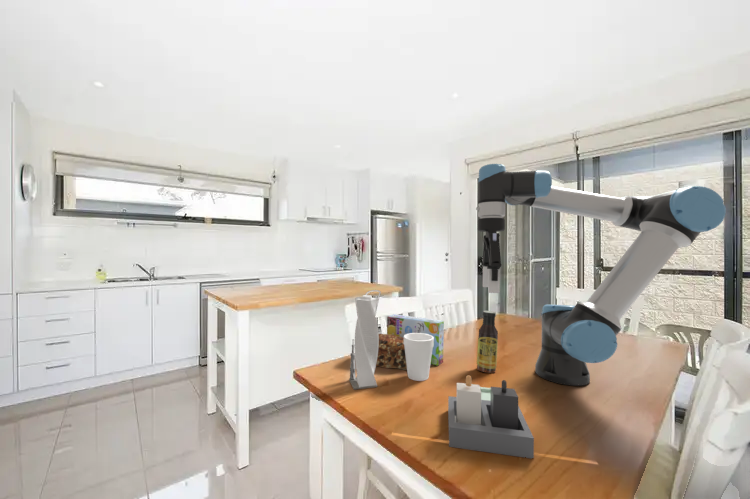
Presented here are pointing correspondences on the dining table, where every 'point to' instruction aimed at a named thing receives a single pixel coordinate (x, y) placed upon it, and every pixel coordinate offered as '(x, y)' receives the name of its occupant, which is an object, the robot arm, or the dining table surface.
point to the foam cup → (418, 355)
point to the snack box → (419, 331)
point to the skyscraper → (365, 343)
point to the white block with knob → (468, 403)
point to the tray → (485, 393)
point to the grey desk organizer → (494, 426)
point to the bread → (391, 352)
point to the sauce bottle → (487, 344)
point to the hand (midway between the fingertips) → (490, 289)
